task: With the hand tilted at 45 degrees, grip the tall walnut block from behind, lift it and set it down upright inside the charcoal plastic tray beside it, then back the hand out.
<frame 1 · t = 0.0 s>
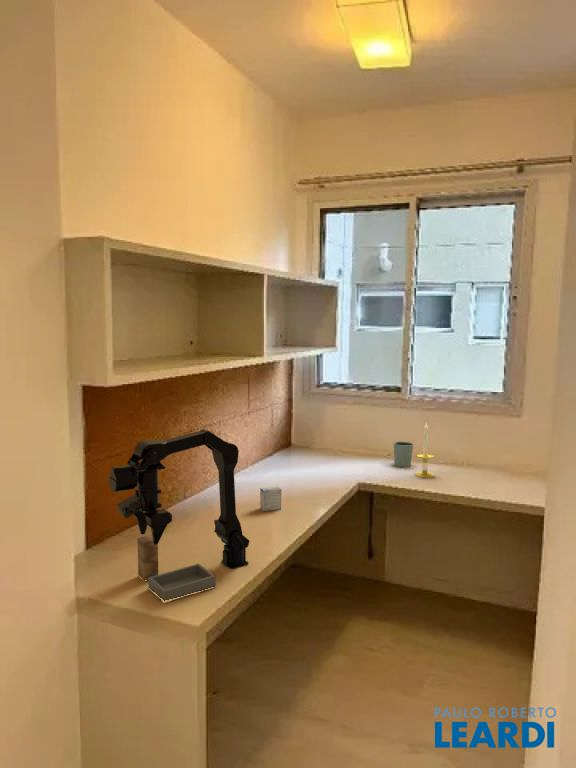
hand: (149, 539, 161), 15 cm above the table, tool pointing down, fingers open, 9 cm apart
tray: (182, 588, 163), on the table
candle: (424, 475, 284), on the table
green cup: (402, 465, 302), on the table
walnut block: (148, 577, 170), on the table
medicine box: (270, 509, 232), on the table
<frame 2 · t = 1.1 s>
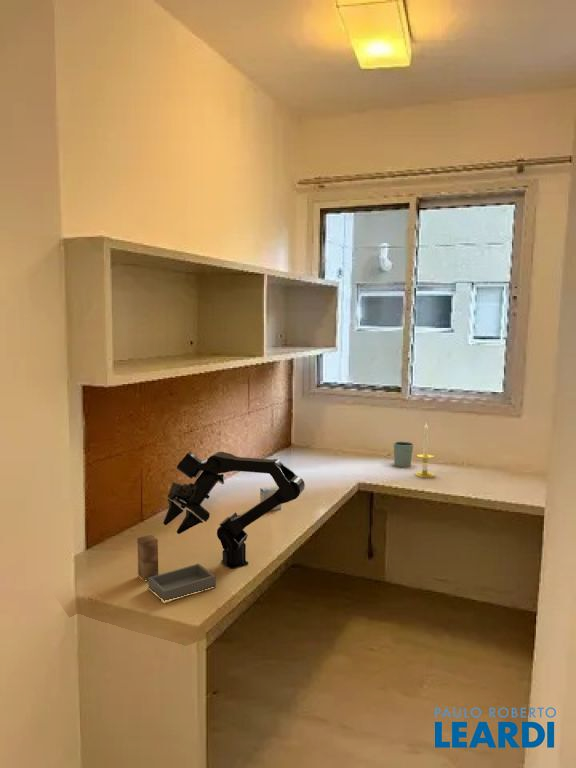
hand: (170, 528, 173), 13 cm above the table, tool tilted 45°, fingers open, 9 cm apart
nothing on the table moved.
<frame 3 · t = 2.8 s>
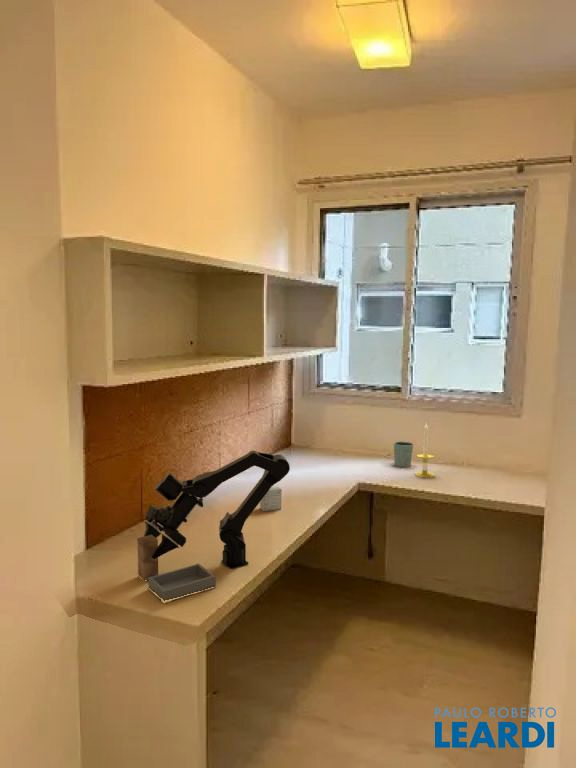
hand: (146, 553, 169), 8 cm above the table, tool tilted 45°, fingers open, 9 cm apart
nothing on the table moved.
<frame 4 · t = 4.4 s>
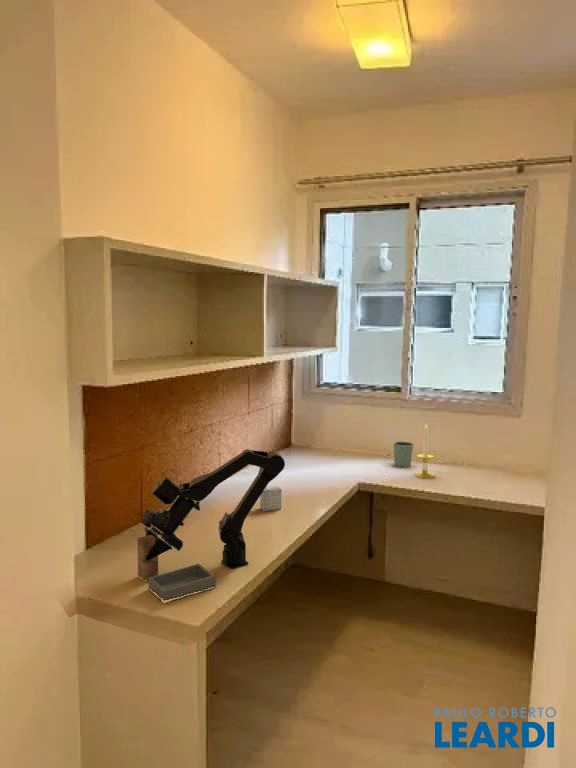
hand: (143, 557, 168), 7 cm above the table, tool tilted 45°, fingers closed on walnut block, 4 cm apart
walnut block: (148, 577, 170), on the table, touching gripper
everything else where it was.
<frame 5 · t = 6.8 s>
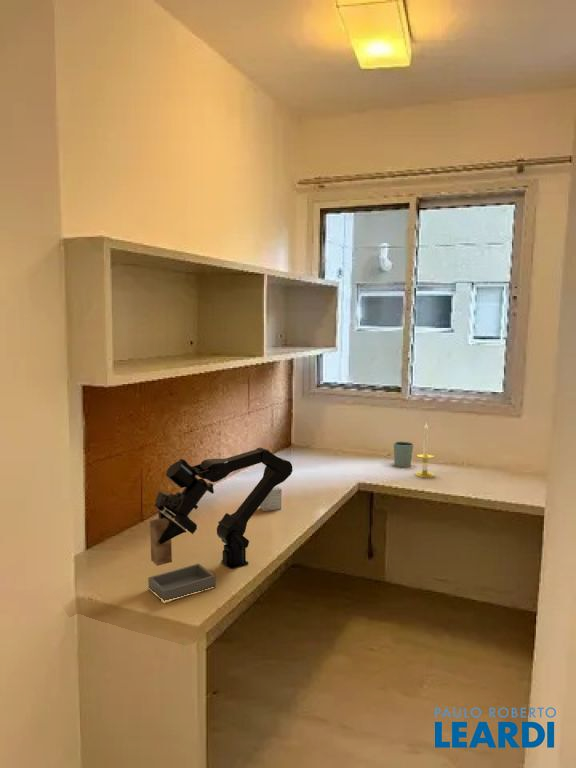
hand: (156, 540, 164), 13 cm above the table, tool tilted 45°, fingers closed on walnut block, 4 cm apart
walnut block: (161, 561, 165), point 7 cm above the table, touching gripper
everything else where it was.
when the fingers open (8 cm above the table, at t = 9.6 s): walnut block stays where it is, resting on tray.
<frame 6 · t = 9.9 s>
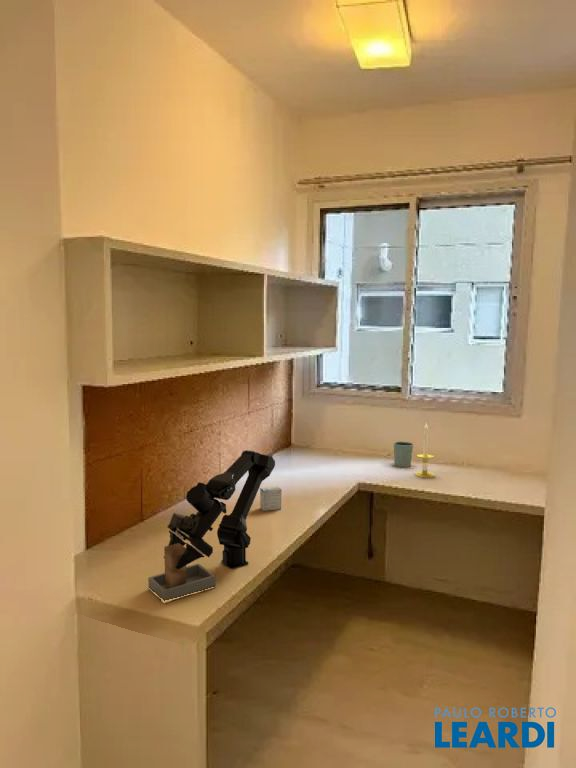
hand: (170, 563, 160), 8 cm above the table, tool tilted 45°, fingers open, 7 cm apart
walnut block: (175, 587, 162), point 1 cm above the table, touching tray
everything else where it was.
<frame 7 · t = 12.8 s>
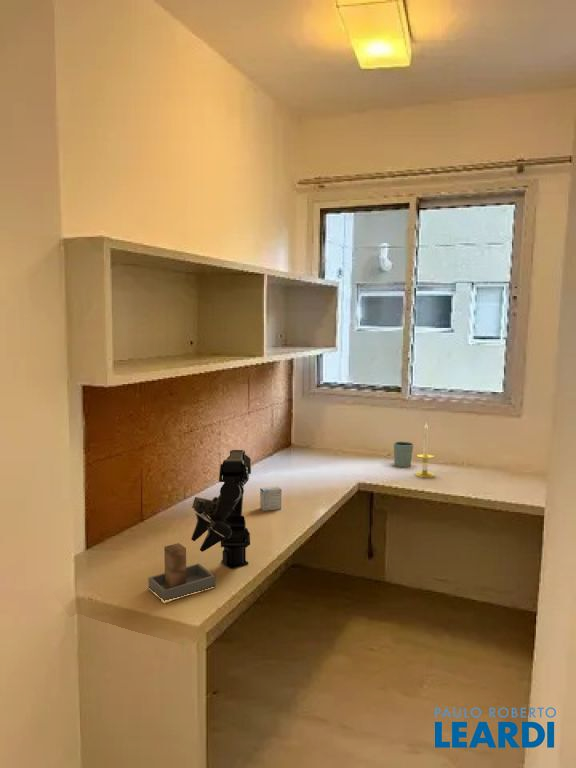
hand: (196, 545, 167), 11 cm above the table, tool tilted 40°, fingers open, 9 cm apart
nothing on the table moved.
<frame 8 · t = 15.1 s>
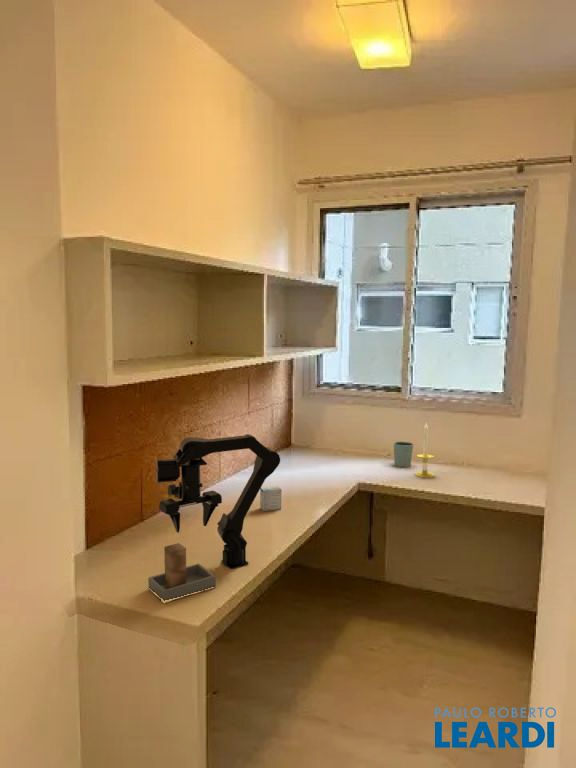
hand: (191, 529, 174), 13 cm above the table, tool pointing down, fingers open, 9 cm apart
nothing on the table moved.
at the end: walnut block inside the target area on the tray (2.0 cm from its centre), point 0.8 cm above the tray's base; walnut block tilted 0°; the gripper is holding nothing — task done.
